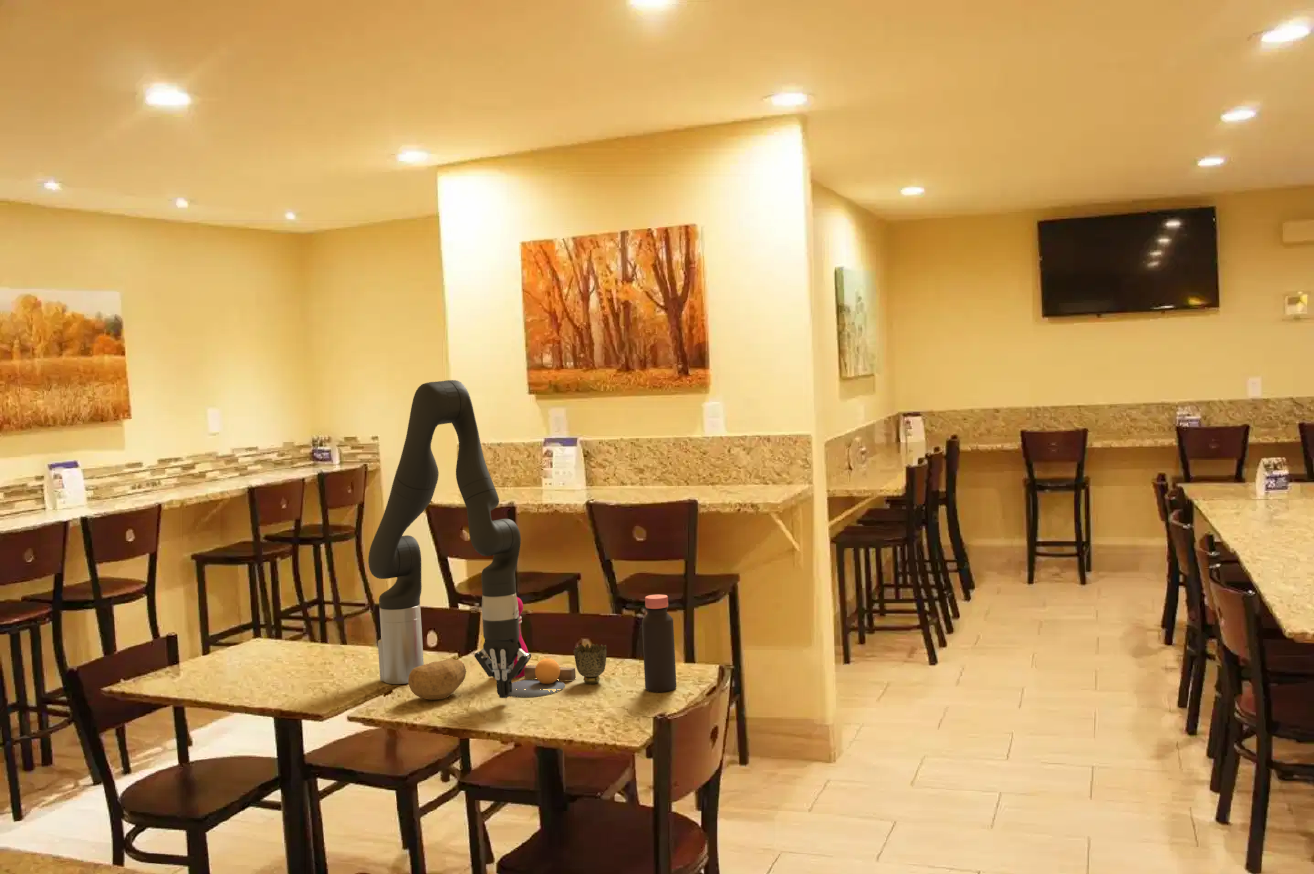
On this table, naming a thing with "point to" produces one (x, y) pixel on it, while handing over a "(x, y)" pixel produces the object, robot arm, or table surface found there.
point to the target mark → (534, 688)
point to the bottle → (658, 645)
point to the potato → (437, 679)
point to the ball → (547, 671)
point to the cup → (590, 662)
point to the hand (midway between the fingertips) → (505, 696)
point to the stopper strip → (564, 675)
